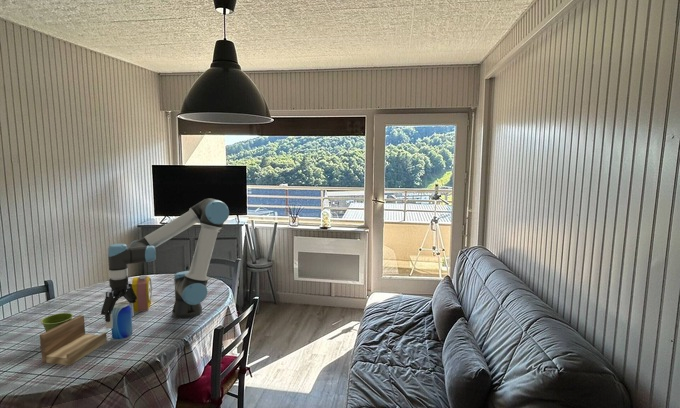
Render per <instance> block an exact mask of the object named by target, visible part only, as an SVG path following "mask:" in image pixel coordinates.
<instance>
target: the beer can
mask: <svg viewBox="0 0 680 408" xmlns="http://www.w3.org/2000/svg"><path fill="white" fill-rule="evenodd" d="M128 303H129V302H119V303H115V305H114V308H113V310H112V312H111V314H112V318H113V328H110V329H111V339H113V341H115V342H123V341H127V340H129V339H131V337H132V336H133V333H134V332H133V319H132V318H133V317H132V315H131V307H130V306H129V304H128Z"/></svg>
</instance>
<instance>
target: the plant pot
mask: <svg viewBox="0 0 680 408" xmlns="http://www.w3.org/2000/svg"><path fill="white" fill-rule="evenodd" d="M73 318H74V314H73V313H71V312H70V313H69V312H61V313H55V314H51V315H48V316H46V317H44V318H42V319H41V320H40V323H41V324H42V325H43V328H44V331H45V332H47V331H49V330H51V329H53V328H55V327H57V326H59V325H61V324H63V323H65V322H67V321H69V320H71V319H73Z"/></svg>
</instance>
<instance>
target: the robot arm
mask: <svg viewBox="0 0 680 408" xmlns="http://www.w3.org/2000/svg"><path fill="white" fill-rule="evenodd" d="M188 209H189V210H188V211H187V212H185V213H183V214H181V215H180V216H178V217H176V218H174V219H173V220H171V221H170V222H167V223H165V224H164V225H163V226H161V227H158V229H155V230H153V231H151V232H150V233H149V234H147V235H145V236H144V237H142V238H139V239H136V240H133V241H131V242H130V244H129V247H128V246H127V243H113V244H111V245H109V246H108V248H107V249H108V250H107V259H108V261H107V262H108V276H109V279H108V281H109V282H108V283H109V284H108V285H109V288H110V289H111V291H106V292H105V297H104V301H103V305H102V309H101V312H100V315H103V316H104V321H105V327H106V328H105V329H111V328H113V318H112V314H111V312H112V310H113V308H114V305H115V304H117V301H119V299H120V298H124V299H125V300H126V301H127V303H128V304H129V306H130V307H131V315H132V318H133V317H134V316H135V315H134V314H135V312H134V310H133V308H134V303H135V302H136V300H137V297H136V295H135V293H134V291H133V288H132V283H129V277H128V276H129V271H128V270H129V268H128V265H131V264H140V263H150V262H154V261H155V260H156V259H157V251H156V248H157V247H159V246H160V245H163V244H164V243H166V242H167V241H169V240H171V239H172V238H174V237H176V236H177V235H179V234H181V233H182V232H184V231H187V230H188V229H189V228H191V227H193V226H194V225H196V224H200V226H201V227H200V231H199V235H198V239H197V241H196V246H195V250H194V253H193V256H192V259H191V264H190V267H189V270H184V271H183V270H182V271H180V272H176V273H175V274H174V277H173V280H174V282H173V283H174V298H175V299H174V303H173V307H172V312H171V314H172V317H174V318H176V319H190V318H193V317H196V316H199V315H201V313H202V312H203V306H202V304H201V303H203V302H204V301H205V299H206V298H207V296H208V288H207V285H208V282H209V277H208V276H207V274H208V270H209V266H210V263H211V259H212V255H213V251H214V248H215V245H216V240H217V237H218V233H219V231H220V230H221V229H223V227H224V224H225V222H226V221H228V219H229V215H230V210H229V207H228V205H227V204H226V203H225V202H224V201H222V200H219V199H215V198H212V197H211V198H209V197H208V198H204V199H203V200H201V201H199V202H198V203H196V204H195V205H193V206H191V207H190V208H188Z"/></svg>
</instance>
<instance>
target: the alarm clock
mask: <svg viewBox="0 0 680 408" xmlns="http://www.w3.org/2000/svg"><path fill="white" fill-rule="evenodd" d="M131 284H132V288H133V291H134V293H135V295H136V297H137V300H136V302H135V303H134V308H133V310H134V313H136V312H145V311H146V312H148V311H150V306H151V304H152V293H153V292H152V290H153V288H152V278H151V277H150V275H147V274H143V275H142V274H141V275H139V276H138V277H137V276H136V277H132V281H131Z"/></svg>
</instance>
